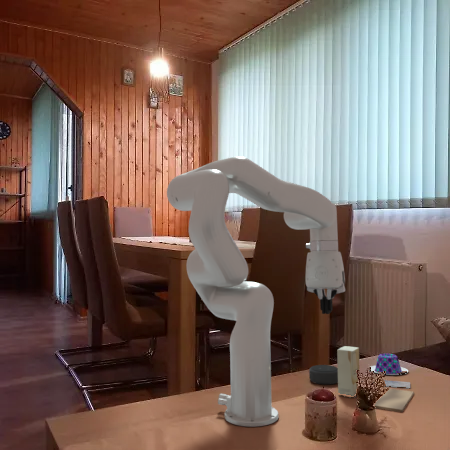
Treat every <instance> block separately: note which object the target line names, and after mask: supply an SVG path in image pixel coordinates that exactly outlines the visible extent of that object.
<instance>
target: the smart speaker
mask: <svg viewBox="0 0 450 450" xmlns="http://www.w3.org/2000/svg"><path fill="white" fill-rule="evenodd" d="M308 371H309V372H308V373H309V375H308V376H309V381H311V382H312V383H314V384H316V385H322V386H323V385H324V386H325V385H326V386H327V385H329V386H331V385H335V384H338V366H335V365H331V364H330V365H329V364H317V365H312V366H311V367H310V368H309V370H308Z"/></svg>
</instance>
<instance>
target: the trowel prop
mask: <svg viewBox="0 0 450 450" xmlns="http://www.w3.org/2000/svg"><path fill="white" fill-rule="evenodd" d="M373 377H374V378H376V377H377V376H373ZM383 380H384V379H383ZM384 381H385V384H386V387H385V388H397V387H406V388H405V389H409V388H410V389H411V382H410V381H399V380H386V379H385V380H384ZM389 386H391V387H389Z"/></svg>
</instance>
